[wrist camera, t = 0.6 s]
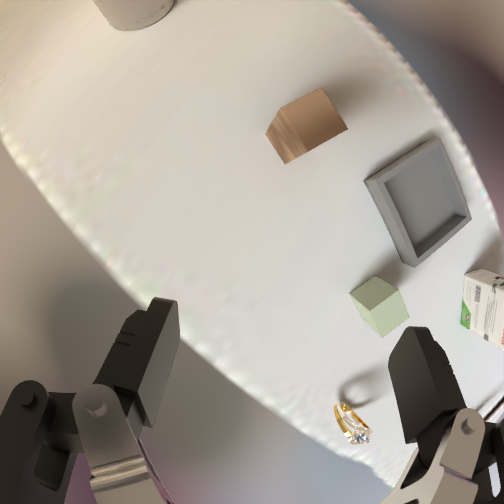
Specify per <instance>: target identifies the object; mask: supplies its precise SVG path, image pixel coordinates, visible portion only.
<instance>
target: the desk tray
mask: <svg viewBox="0 0 504 504" xmlns="http://www.w3.org/2000/svg"><path fill="white" fill-rule="evenodd" d="M364 183H365V184H366V186H367V188H368V190H369V192H370V194H371V196H372V198H373V200H374V202H375V204H376V206H377V208H378V210H379V212H380V214H381V216H382V218H383V220H384V222H385V224H386V227H387V229H388V231H389V233H390V235H391V237H392V240H393V242H394V244H395V246H396V249H397V251H398V253H399V256H400V258H401V260H402V262H403V263H405V264H408V265H410V266H412V267H414V268H415V267H416V266H418V265H419V264H420V263H421V262H423V261H424V260H425V259H426V258H428V257H429V256H430V255H431V254H432V253H434V252H435V251H436V250H437V249H438V248H440V247H441V246H442V245H443V244H444V243H446V242H447V241H448V240H449V239H450V238H451V237H453V236H454V235H455V234H456V233H457V232H458V231H459V230H460V229H462V228H463V227H464V226H465V225H466V224H467V223H468V222H469V221H470V220H472V218H471V215H470V212H469V209H468V206H467V203H466V200H465V197H464V194H463V191H462V189H461V186H460V183H459V181H458V178H457V176H456V173H455V171H454V168H453V166H452V164H451V161H450V159H449V157H448V154H447V152H446V150H445V148H444V145H443V143H442V141H441V139H440V138H438V139H433V140H429V141H426V142H424V143H423V144H421V145H419V146H418V147H416V148H415V149H413V150H411V151H410V152H408V153H407V154H405V155H404V156H402V157H400V158H399V159H397V160H396V161H394V162H393V163H391V164H389V165H388V166H386V167H385V168H383V169H382V170H380V171H378V172H377V173H375V174H374V175H372V176H371V177H369V178H367V179H366V180H364Z"/></svg>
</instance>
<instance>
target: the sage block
mask: <svg viewBox="0 0 504 504" xmlns="http://www.w3.org/2000/svg"><path fill="white" fill-rule="evenodd" d="M349 294H350V296H351V298H352V300H353V302H354V304H355V306H356V308H357V310H358V312H359V314H360V316H361V318H362V319H363V320H365V321H366V322H367V323H368V324H369V325H370V326H371V327H372V328H373V329H374V330H375V331H376V332H377V333H378V334H379V335H380V336H381V337H384V336H385V335H387V334H388V333H389V332H391V331H392V330H393V329H395V328H396V327H397V326H399V325H400V324H401V323H403V322H404V321H405V320H407V319H408V318H409V317H410V316H409V314H408V311H407V309H406V306H405V304H404V301H403V299H402V296H401V294H400V291H399V289H397V288H395V287H394V286H392V285H390V284H389V283H387V282H385V281H383V280H382V279H380V278H378V277H377V276H373V277H372V278H371V279H369V280H368V281H366V282H365V283H364V284H362V285H361V286H359V287H358V288H356V289H355V290H353V291H352V292H351V293H349Z"/></svg>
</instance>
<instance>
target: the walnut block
mask: <svg viewBox="0 0 504 504" xmlns="http://www.w3.org/2000/svg"><path fill="white" fill-rule="evenodd" d="M347 129H348V128H347V126H346V125H345V123H344V121H343V120H342V118H341V117H340V115H339V113H338V112H337V110H336V109H335V107H334V106H333V104H332V103H331V101H330V100H329V98H328V97H327V95H326V94H325V92H324V91H323V89H322V88H320V89H318V90H316V91H314V92H312V93H309V94H307V95H305V96H303V97H301V98H299V99H297V100H295V101H294V102H292V103H290V104H288V105H286V106H284V107H282V108H280V110H279V111H278V113H277V115H276V117H275V118H274V120H273V122H272V123H271V125H270V127H269V128H268V130H267V132H266V136H267V137H268V139H269V140H270V142H271V143H272V145H273V146H274V148H275V149H276V151H277V153H278V154H279V156H280V157H281V159H282V160H283V162H284V164H286V163H288V162H290V161H292V160H294V159H295V158H297V157H299V156H301V155H303V154H305V153H306V152H308V151H310V150H312V149H313V148H315V147H317V146H319V145H320V144H322V143H324V142H326V141H327V140H329V139H331V138H333V137H335V136H336V135H338V134H340V133H342V132H344V131H345V130H347Z"/></svg>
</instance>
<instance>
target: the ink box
mask: <svg viewBox="0 0 504 504" xmlns="http://www.w3.org/2000/svg"><path fill="white" fill-rule="evenodd" d="M461 325H463V326H464V327H466V328H468V329H469V330H471V331H472V332H474V333H476V334H477V335H479V336H481V337H482V338H484V339H485V340H487V341H488V342H490V343H492V344H493V345H495V346H496V347H498V348H499V349H501V350H503V351H504V276H501V275H498V274H496V273H493V272H490V271H487V270H485V269H478V270H475V271H472V272H469V273H466V274H465V275H464V292H463V306H462V317H461Z"/></svg>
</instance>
